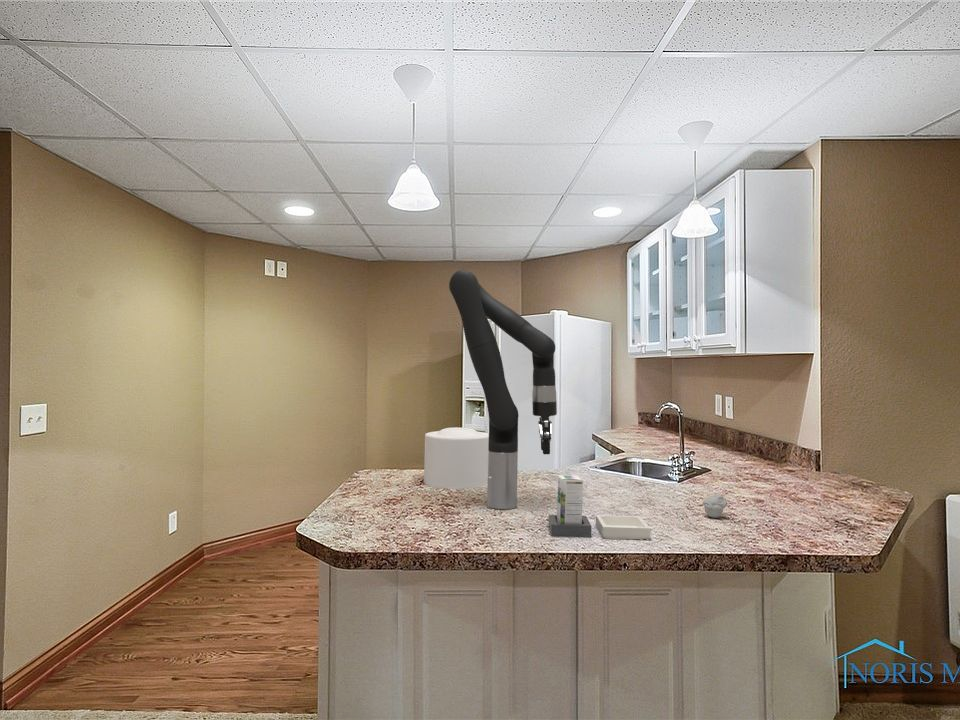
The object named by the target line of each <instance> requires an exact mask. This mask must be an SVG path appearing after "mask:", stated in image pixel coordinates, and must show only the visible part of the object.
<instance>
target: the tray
mask: <svg viewBox="0 0 960 720" xmlns="http://www.w3.org/2000/svg"><path fill="white" fill-rule="evenodd" d="M595 527H596V528H597V531H598V530H599V531H598V533H599V534H600V536H601V537H602V539H603V540H626V539H641V540H640V541H643V540H642V539H646V540H645V541H651V536H652V534H651V533H652V528H651V527H650V526H649V524H648V523H646V521H645V520H644V519H643V518H642V517H641V516H640V515H637V516H636V515H611V514H610V515H607V514H606V515H604V514H603V515H602V514H598V515H597V514H596V515H595ZM647 539H648V540H647Z"/></svg>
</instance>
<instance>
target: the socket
mask: <svg viewBox="0 0 960 720" xmlns="http://www.w3.org/2000/svg"><path fill="white" fill-rule="evenodd" d="M548 529H549V532H550V535H551V537H558V538H559V537H561V538H562V537H565V538H569V537H570V538H592V525H591V523H590V521H589V519H588V517H587V515H582V524H566V523H557V514H548Z"/></svg>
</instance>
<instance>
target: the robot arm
mask: <svg viewBox="0 0 960 720" xmlns="http://www.w3.org/2000/svg"><path fill="white" fill-rule="evenodd" d="M448 288H449V291H450V293H451V296H452V297H453V300H454V302H455V305H456V307H457V310H458V311H459V316H460V318H461V322H462V327H463V333H464V337H465V341H466V347H467V350H468V353H469V356H470V360H471V362H472V366H473V368H474V370H475V374H476V375H477V378H478V380H479V382H480V385H481V388H482V390H483V393H484V394H483V395H484V397H485V401H486V408H487V411H488V412H487V413H488V434H489V442H488V450H489V451H488V486H487V495H486V496H487V497H486V498H487V503H486V505H487V506H486V507H487V508H491V509H494V510H495V509H496V510H497V509H498V510H510V509H511V510H512V509H515V508H517V507H518V467H519V466H518V464H519V463H518V462H519V461H518V459H519V458H518V457H519V455H518V453H519V449H518V448H519V410H518V407H517V406H516V404H515V403H514V400H513V398H512V396H511V393H510V390H509V388H508V385H507V381H506V377H505V376H506V375H505V370H504V365H503V360H502V355H501V351H500V349H499V345H498V342H497V339H496V336H495V334H494V331H493V329H492V326H491V324H490V322H489V320H490V321H491V322H493V324H494V325H496V326H497V327H498V328H500V329H501V330H502V331H503V332H504V333H505V334H507V335H508V336H509V337H511V338H512V340H513V339H514V340H515V341H516V342H518V343H520V344H522V345H523V346H524V347H525V348H527V349H528V350H529V351H530V352H531V356H532V357H531V358H532V367H533V369H532V393H531V394H532V397H531V398H532V404H531V405H532V415H533V416H535V417H539V419H538V421H537V422H538V423H537V424H538V433H539V438H540V450H541V451H542V454H543V455H550V454H551V441H552V437H551V436H552V426H553V425H552V421H551V420H550V417H554V416H557V415H558V410H557V409H558V406H557V405H558V404H557V402H558V401H557V388H556V371H555V369H554V368H555V367H554V366H555V364H554V360H555V357H554V354H555V352H556V344H555V340H553V339H552V338H551V337H550V336H549V335H547V334H546V333H544V332H543V331H541V330H539V329H538V328H536V327H535V326H533V325H532V324H531V322H529V321H528V320H527V319H525V318H524V317H522V315H520V314H519V313H517V312H516V311H515V310H513V309H512V308H509V307H508V306H507V305H505V304H504V303H502V302H500V301H499V300H498V299H495V297H494V296H492V295H491V294H490V293H489V292H488V291H487V290H486V289H485V288H483V286H482V285H481V284H480V283H479V280H478V278H477V277H476V275H475V274H474V273H472V272H471V271H469V270H467V269H466V270H465V269H460V270H457V271H455V272H454V273H453V274H452V276H451V277H450V279H449V283H448ZM488 319H489V320H488Z"/></svg>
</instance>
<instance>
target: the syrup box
mask: <svg viewBox="0 0 960 720" xmlns="http://www.w3.org/2000/svg"><path fill="white" fill-rule="evenodd" d="M583 487H584V480H583V479H582V478H580V476H578V475H572V474H564V475H563V474H560V475H558V476H557V500H556V501H557V502H556V505H557V506H556V515H557V523H566V524H582V516H583V493H584V491H583V490H584V488H583Z"/></svg>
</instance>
